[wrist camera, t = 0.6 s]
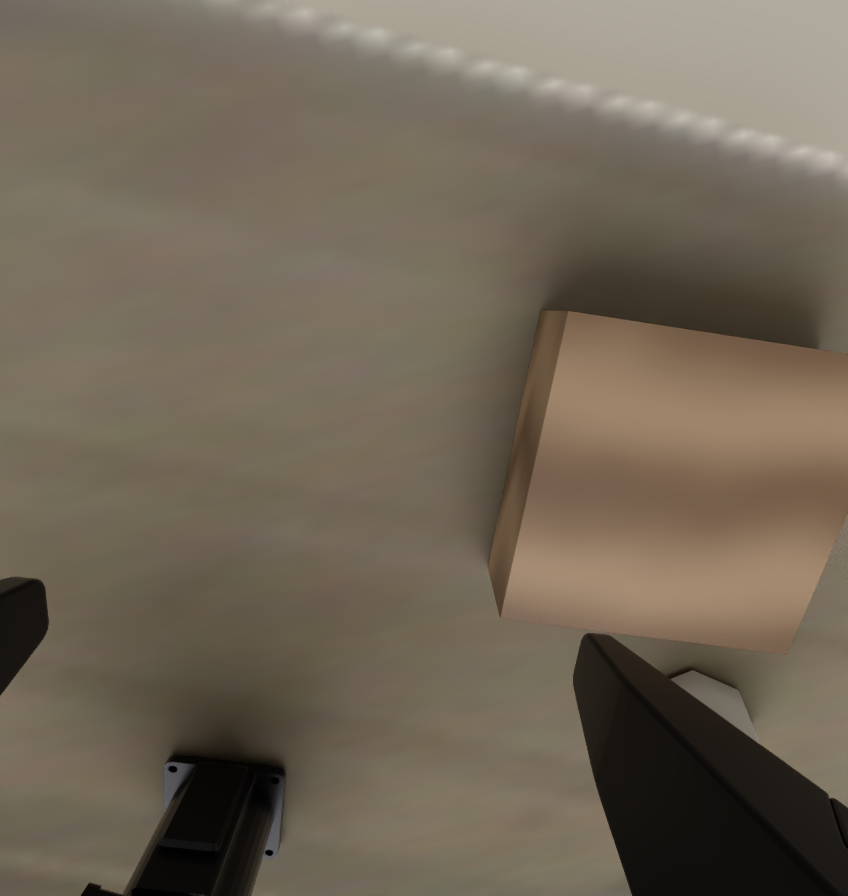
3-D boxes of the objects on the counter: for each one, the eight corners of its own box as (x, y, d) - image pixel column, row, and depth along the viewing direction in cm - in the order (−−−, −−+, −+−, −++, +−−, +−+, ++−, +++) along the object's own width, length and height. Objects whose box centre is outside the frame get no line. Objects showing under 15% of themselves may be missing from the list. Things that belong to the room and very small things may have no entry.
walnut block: (727, 598, 24) (787, 654, 20) (487, 566, 23) (500, 618, 19) (819, 353, 20) (911, 363, 16) (540, 310, 20) (568, 310, 16)
